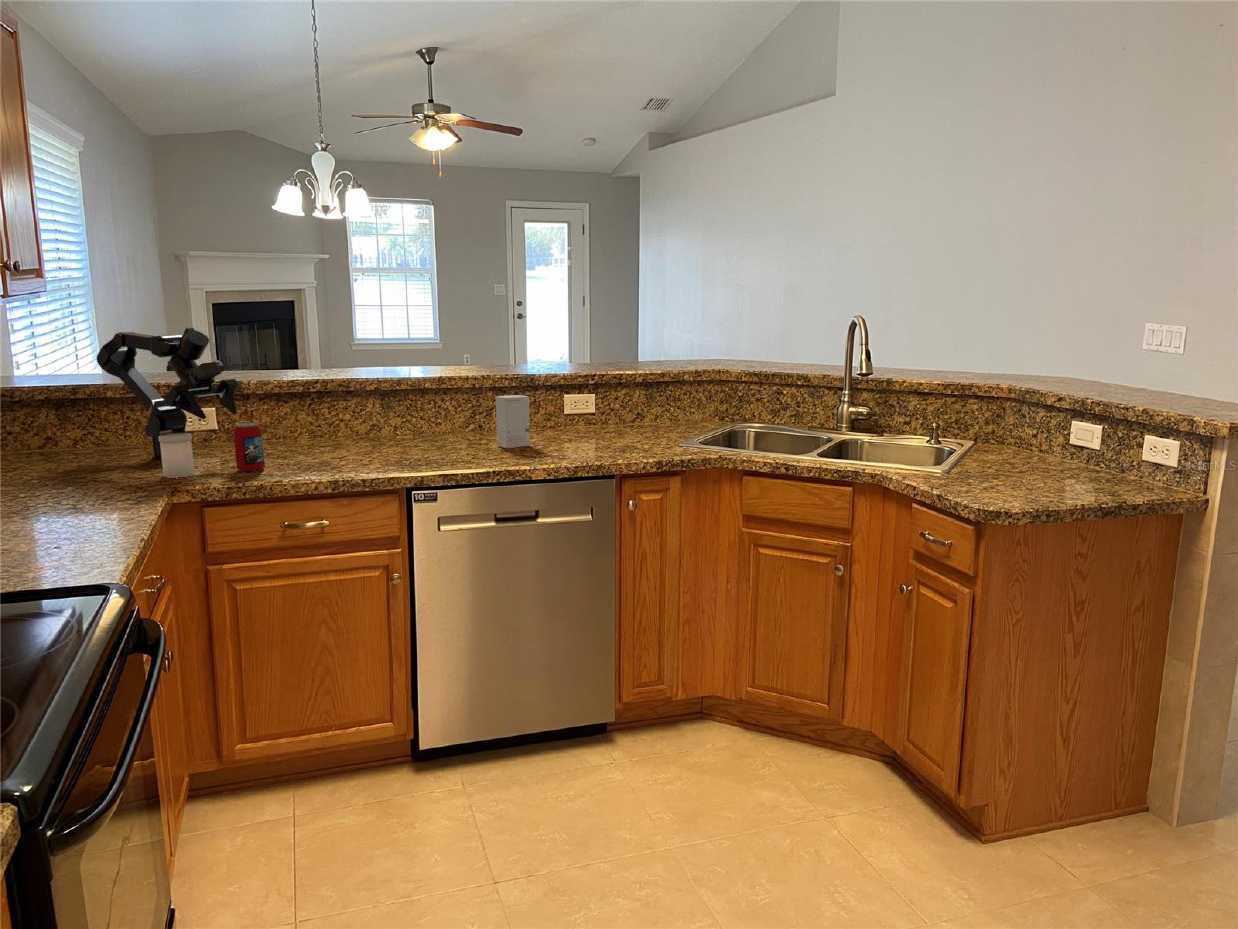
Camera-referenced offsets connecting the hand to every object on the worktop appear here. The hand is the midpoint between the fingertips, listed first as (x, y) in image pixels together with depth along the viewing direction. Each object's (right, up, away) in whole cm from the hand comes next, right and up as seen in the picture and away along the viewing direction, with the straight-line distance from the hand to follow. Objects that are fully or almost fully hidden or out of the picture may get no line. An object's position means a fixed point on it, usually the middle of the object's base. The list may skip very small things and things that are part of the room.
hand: (220, 415), depth 234 cm
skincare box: (+73, -7, +29) cm, 79 cm away
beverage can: (+9, -14, -3) cm, 17 cm away
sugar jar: (-6, -15, -9) cm, 19 cm away
